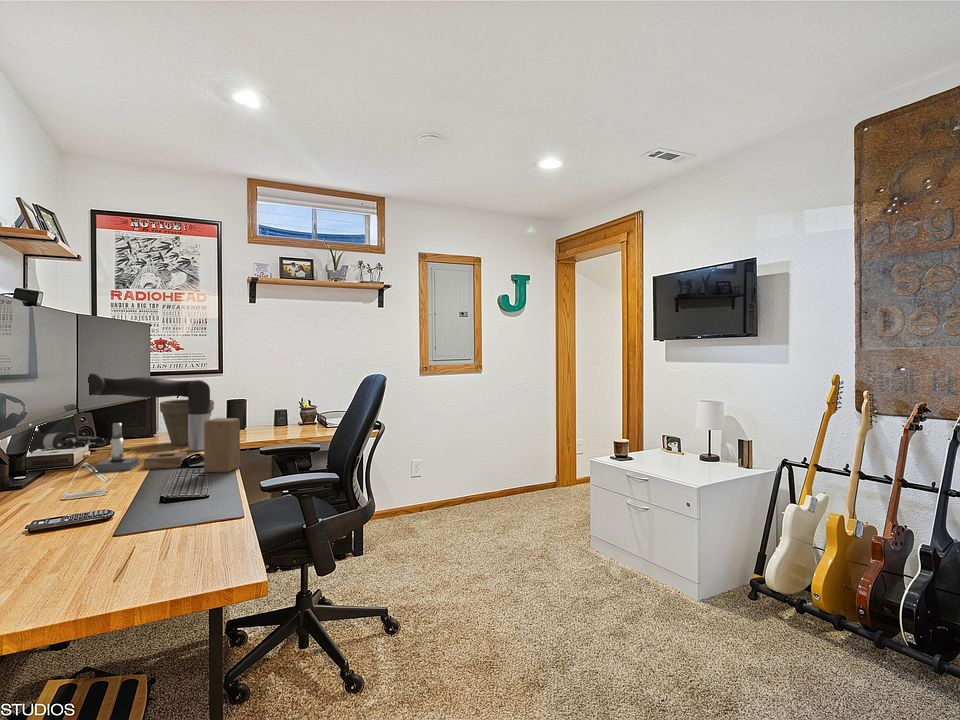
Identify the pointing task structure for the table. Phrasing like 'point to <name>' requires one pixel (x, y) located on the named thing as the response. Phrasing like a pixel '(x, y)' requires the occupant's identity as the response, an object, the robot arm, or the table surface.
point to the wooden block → (221, 444)
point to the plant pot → (177, 419)
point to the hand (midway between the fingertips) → (94, 442)
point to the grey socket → (117, 465)
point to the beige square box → (164, 460)
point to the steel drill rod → (117, 443)
